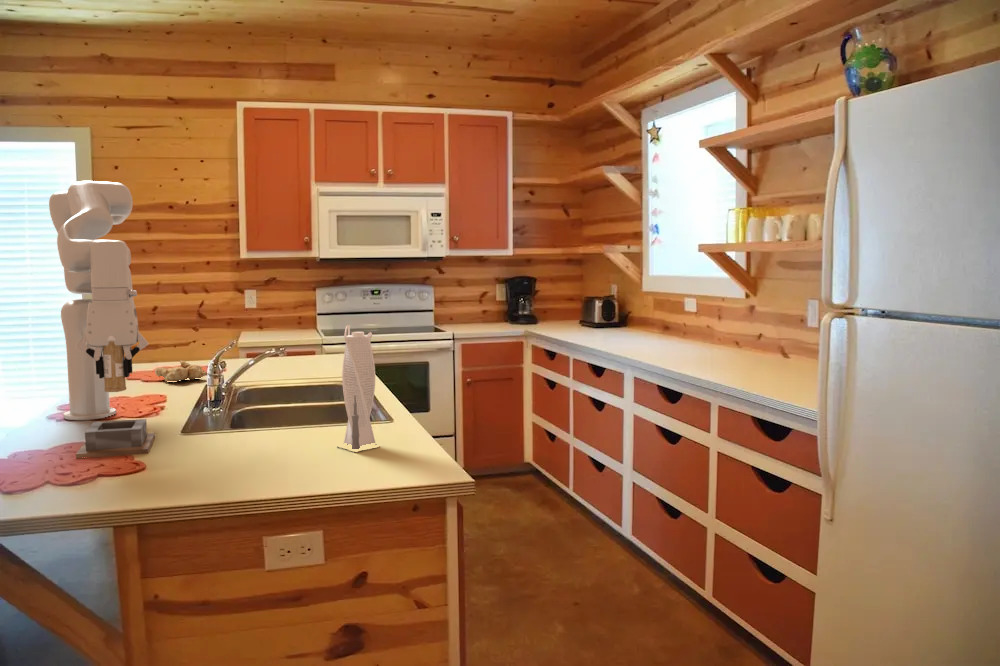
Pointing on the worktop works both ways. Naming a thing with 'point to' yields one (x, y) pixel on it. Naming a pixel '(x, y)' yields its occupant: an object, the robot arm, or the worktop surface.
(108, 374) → the sprinkles bottle
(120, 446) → the socket
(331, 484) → the worktop surface
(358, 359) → the skyscraper
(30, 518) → the worktop surface
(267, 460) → the worktop surface
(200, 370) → the ginger root
